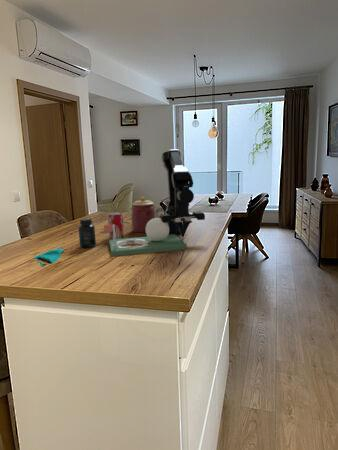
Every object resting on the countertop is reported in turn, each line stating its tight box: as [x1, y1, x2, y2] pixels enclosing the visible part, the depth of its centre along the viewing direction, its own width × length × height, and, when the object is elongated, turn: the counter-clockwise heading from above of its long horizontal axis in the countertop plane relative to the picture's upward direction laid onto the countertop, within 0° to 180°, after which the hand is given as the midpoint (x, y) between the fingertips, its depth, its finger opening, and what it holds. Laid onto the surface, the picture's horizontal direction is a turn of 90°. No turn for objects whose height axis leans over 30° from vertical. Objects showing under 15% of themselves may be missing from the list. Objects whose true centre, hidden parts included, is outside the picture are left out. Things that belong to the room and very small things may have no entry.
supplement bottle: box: [78, 218, 97, 249], centre depth 144 cm, size 7×7×12 cm
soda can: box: [107, 211, 125, 240], centre depth 158 cm, size 7×7×12 cm
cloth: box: [33, 247, 66, 268], centre depth 131 cm, size 26×14×2 cm, turn 172°
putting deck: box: [103, 224, 188, 257], centre depth 141 cm, size 32×20×12 cm, turn 103°
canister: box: [130, 196, 157, 234], centre depth 173 cm, size 13×13×18 cm
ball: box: [145, 217, 169, 241], centre depth 142 cm, size 10×10×10 cm
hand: (182, 236), depth 145 cm, fingers closed
